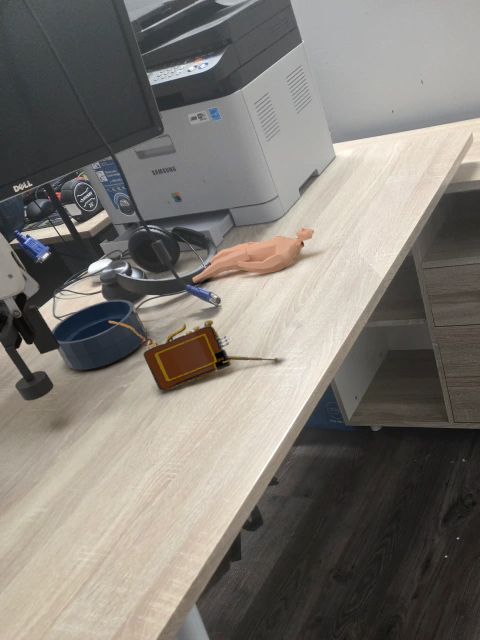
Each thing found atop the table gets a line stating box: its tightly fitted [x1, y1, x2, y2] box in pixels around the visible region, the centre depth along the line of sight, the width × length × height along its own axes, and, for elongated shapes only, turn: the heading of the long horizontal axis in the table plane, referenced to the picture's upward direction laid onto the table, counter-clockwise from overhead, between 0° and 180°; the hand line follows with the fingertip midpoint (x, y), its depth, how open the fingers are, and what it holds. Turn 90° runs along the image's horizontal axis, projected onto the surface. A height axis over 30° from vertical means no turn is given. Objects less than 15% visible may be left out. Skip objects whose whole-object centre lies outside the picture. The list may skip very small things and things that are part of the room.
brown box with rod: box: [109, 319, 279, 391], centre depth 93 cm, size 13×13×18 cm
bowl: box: [51, 299, 147, 371], centre depth 110 cm, size 14×14×6 cm
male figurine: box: [192, 227, 315, 284], centre depth 124 cm, size 11×5×25 cm
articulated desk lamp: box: [0, 301, 60, 402], centre depth 93 cm, size 16×4×9 cm, turn 16°
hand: (25, 342), depth 93 cm, fingers closed on articulated desk lamp, 1 cm apart
